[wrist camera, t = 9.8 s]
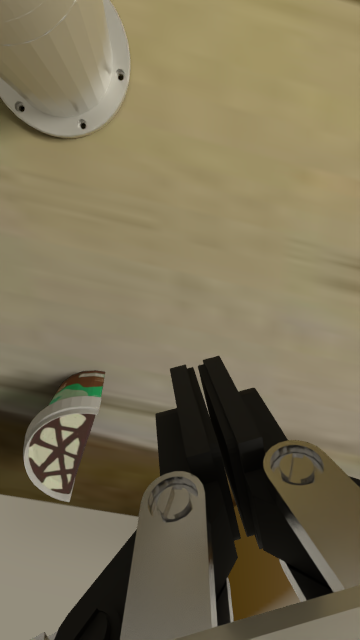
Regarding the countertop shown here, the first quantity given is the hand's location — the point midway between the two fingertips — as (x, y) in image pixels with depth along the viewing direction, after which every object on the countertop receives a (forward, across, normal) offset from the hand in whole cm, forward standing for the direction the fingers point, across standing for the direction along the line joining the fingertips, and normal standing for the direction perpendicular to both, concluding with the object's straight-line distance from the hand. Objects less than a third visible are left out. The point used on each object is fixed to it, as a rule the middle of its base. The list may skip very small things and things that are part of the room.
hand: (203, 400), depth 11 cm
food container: (+28, +15, +14) cm, 35 cm away
